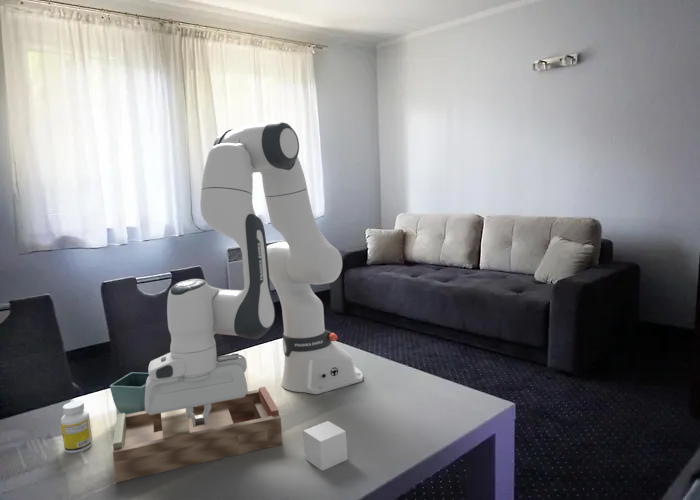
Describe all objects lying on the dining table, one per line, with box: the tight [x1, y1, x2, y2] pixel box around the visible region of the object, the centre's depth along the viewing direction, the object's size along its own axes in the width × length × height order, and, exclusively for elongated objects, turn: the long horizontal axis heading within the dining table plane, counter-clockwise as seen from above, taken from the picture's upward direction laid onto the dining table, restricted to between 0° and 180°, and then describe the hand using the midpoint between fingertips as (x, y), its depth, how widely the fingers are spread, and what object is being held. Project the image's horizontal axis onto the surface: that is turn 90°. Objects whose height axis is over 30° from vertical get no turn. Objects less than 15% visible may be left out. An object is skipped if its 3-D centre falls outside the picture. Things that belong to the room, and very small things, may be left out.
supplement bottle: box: [60, 400, 93, 454], centre depth 109 cm, size 5×5×10 cm
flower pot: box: [109, 371, 149, 414], centre depth 125 cm, size 9×9×9 cm
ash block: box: [161, 408, 190, 438], centre depth 103 cm, size 5×5×5 cm
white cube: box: [303, 420, 348, 472], centre depth 100 cm, size 6×6×6 cm
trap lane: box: [112, 386, 283, 483], centre depth 109 cm, size 32×17×7 cm, turn 111°
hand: (199, 424), depth 105 cm, fingers closed
